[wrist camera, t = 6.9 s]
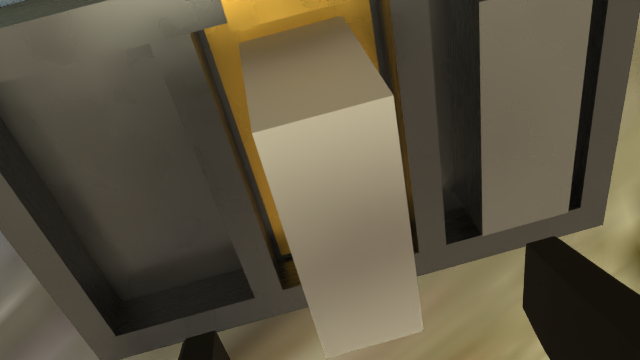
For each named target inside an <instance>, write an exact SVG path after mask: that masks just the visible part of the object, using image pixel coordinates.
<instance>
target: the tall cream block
mask: <svg viewBox="0 0 640 360" xmlns="http://www.w3.org/2000/svg"><path fill="white" fill-rule="evenodd" d="M238 45H239V52H240V59H241V65H242V72H243V78H244V85H245V92H246V98H247V105H248V111H249V118H250V124H251V131H252V135H253V138H254V141H255V145H256V148H257V151H258V154H259V157H260V160H261V163H262V166H263V169H264V172H265V175H266V178H267V181H268V184H269V187H270V190H271V193H272V196H273V199H274V202H275V205H276V209H277V212H278V215H279V218H280V221H281V224H282V227H283V230H284V233H285V236H286V239H287V242H288V245H289V248H290V251H291V254H292V257H293V260H294V263H295V266H296V269H297V273H298V276H299V279H300V282H301V285H302V288H303V291H304V294H305V297H306V300H307V303H308V306H309V309H310V312H311V315H312V318H313V321H314V324H315V327H316V330H317V333H318V337H319V340H320V343H321V346H322V349H323V352H324V355H325V358H326V359H327V358H331V357H334V356H338V355H341V354H345V353H348V352H352V351H355V350H359V349H362V348H366V347H370V346H373V345H377V344H380V343H384V342H387V341H391V340H394V339H398V338H401V337H405V336H409V335H412V334H416V333H419V332H423V331H424V329H423V321H422V314H421V306H420V298H419V290H418V283H417V275H416V267H415V259H414V251H413V244H412V236H411V228H410V220H409V213H408V205H407V197H406V189H405V182H404V174H403V166H402V158H401V150H400V143H399V135H398V127H397V119H396V112H395V104H394V96H393V94H392V92H391V91H390V89H389V88H388V86H387V85H386V83H385V82H384V80H383V78H382V77H381V75H380V74H379V72H378V71H377V69H376V68H375V66H374V65H373V63H372V61H371V60H370V58H369V57H368V55H367V54H366V52H365V51H364V49H363V47H362V46H361V44H360V43H359V41H358V40H357V38H356V37H355V35H354V34H353V32H352V30H351V29H350V27H349V26H348V24H347V23H346V21H345V20H344V18H343V17H342V16H338V17H334V18H331V19H327V20H323V21H319V22H315V23H312V24H308V25H304V26H300V27H297V28H293V29H289V30H285V31H281V32H278V33H274V34H270V35H266V36H263V37H259V38H255V39H251V40H247V41H244V42H240V43H238Z"/></svg>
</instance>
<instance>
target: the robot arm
mask: <svg viewBox="0 0 640 360" xmlns="http://www.w3.org/2000/svg"><path fill="white" fill-rule="evenodd" d="M523 309H524V311H525V313H526V315H527V317H528V319H529V321H530V323H531V325H532V327H533V329H534V331H535V333H536V335H537V337H538V339H539V341H540V343H541V345H542V346H543V348H544V350H545V352H546V354H547V355H548V357H549V358H550V360H640V295H639V294H638V293H636V292H635V291H633V290H632V289H630V288H629V287H627V286H626V285H624V284H623V283H621V282H620V281H618V280H617V279H616V278H614V277H613V276H611V275H610V274H608V273H607V272H605V271H604V270H603V269H601V268H600V267H598V266H597V265H595V264H594V263H593V262H591V261H590V260H588V259H587V258H586V257H584V256H583V255H581V254H580V253H579V252H577V251H576V250H574V249H573V248H571V247H570V246H569V245H567V244H566V243H564V242H563V241H562V240H560V239H559V238H557V237H555V236H552V237H548V238H545V239H541V240H538V241H534V242H530V243H527V244H526V254H525V272H524V291H523ZM178 360H230V358H229V356H228V354H227V352H226V350H225V348H224V346H223V344H222V342H221V340H220V338H219V336H218V334H217V332H216V331H215V330H214V331H211V332H207V333H204V334H200V335H196V336H193V337H189V338H186V339H185V341H184V342H183V344H182V348H181V352H180V355H179V359H178Z"/></svg>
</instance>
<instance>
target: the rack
mask: <svg viewBox="0 0 640 360" xmlns="http://www.w3.org/2000/svg"><path fill="white" fill-rule="evenodd" d="M639 13H640V0H27V1H23V2H19V3H15V4H11V5H7V6H3V7H0V231H1V232H2V233H3V235H4V236H5V237H6V239H7V240H8V241H9V243H10V244H11V245H12V246H13V248H14V249H15V250H16V252H17V253H18V254H19V255H20V257H21V258H22V259H23V261H24V262H25V263H26V265H27V266H28V267H29V268H30V270H31V271H32V272H33V274H34V275H35V276H36V278H37V279H38V280H39V281H40V283H41V284H42V285H43V287H44V288H45V289H46V290H47V292H48V293H49V294H50V296H51V297H52V298H53V300H54V301H55V302H56V303H57V305H58V306H59V307H60V309H61V310H62V311H63V313H64V314H65V315H66V316H67V318H68V319H69V320H70V322H71V323H72V324H73V325H74V327H75V328H76V329H77V331H78V332H79V333H80V335H81V336H82V337H83V338H84V340H85V341H86V342H87V344H88V345H89V346H90V348H91V349H92V350H93V351H94V353H95V354H96V355H97V357H98V358H99V359H100V360H119V359H123V358H126V357H130V356H133V355H137V354H140V353H144V352H148V351H151V350H155V349H158V348H162V347H166V346H169V345H173V344H176V343H180V342H184V341H185V339H186V338H189V337H193V336H196V335H200V334H204V333H207V332H211V331H214V330H215V331H216V332H219V331H223V330H227V329H230V328H234V327H237V326H241V325H245V324H248V323H252V322H255V321H259V320H263V319H266V318H270V317H273V316H277V315H281V314H284V313H288V312H291V311H295V310H299V309H302V308H306V307H309V306H308V303H307V300H306V297H305V294H304V291H303V288H302V285H301V282H300V279H299V276H298V273H297V269H296V266H295V263H294V260H293V257H292V254H291V251H290V248H289V245H288V242H287V239H286V236H285V233H284V230H283V227H282V224H281V221H280V218H279V215H278V212H277V209H276V205H275V202H274V199H273V196H272V193H271V190H270V187H269V184H268V181H267V178H266V175H265V172H264V169H263V166H262V163H261V160H260V157H259V154H258V151H257V148H256V145H255V141H254V138H253V135H252V131H251V124H250V118H249V111H248V105H247V98H246V92H245V85H244V78H243V72H242V65H241V59H240V52H239V45H238V43H240V42H244V41H247V40H251V39H255V38H259V37H263V36H266V35H270V34H274V33H278V32H281V31H285V30H289V29H293V28H297V27H300V26H304V25H308V24H312V23H315V22H319V21H323V20H327V19H331V18H334V17H338V16H342V17H343V18H344V20H345V21H346V23H347V24H348V26H349V27H350V29H351V30H352V32H353V34H354V35H355V37H356V38H357V40H358V41H359V43H360V44H361V46H362V47H363V49H364V51H365V52H366V54H367V55H368V57H369V58H370V60H371V61H372V63H373V65H374V66H375V68H376V69H377V71H378V72H379V74H380V75H381V77H382V78H383V80H384V82H385V83H386V85H387V86H388V88H389V89H390V91H391V92H392V94H393V96H394V104H395V112H396V119H397V127H398V135H399V143H400V150H401V158H402V166H403V174H404V182H405V189H406V197H407V205H408V213H409V220H410V228H411V236H412V244H413V251H414V259H415V267H416V275H417V276H421V275H424V274H428V273H431V272H435V271H439V270H442V269H446V268H449V267H453V266H457V265H460V264H464V263H467V262H471V261H474V260H478V259H482V258H485V257H489V256H492V255H496V254H500V253H503V252H507V251H510V250H514V249H518V248H521V247H525V246H526V244H527V243H530V242H534V241H538V240H541V239H545V238H548V237H552V236H555V237H561V236H564V235H568V234H571V233H575V232H579V231H582V230H586V229H589V228H593V227H597V226H600V225H603V222H604V216H605V210H606V204H607V199H608V193H609V187H610V181H611V175H612V170H613V164H614V158H615V152H616V146H617V141H618V135H619V129H620V123H621V117H622V112H623V106H624V100H625V94H626V88H627V83H628V77H629V71H630V65H631V60H632V54H633V48H634V42H635V36H636V31H637V25H638V19H639Z"/></svg>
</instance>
